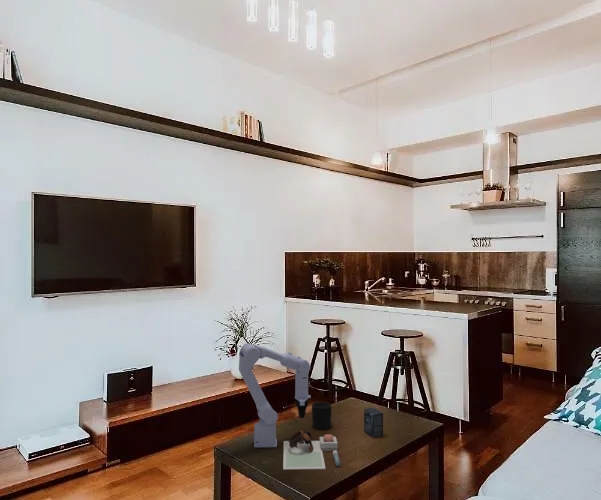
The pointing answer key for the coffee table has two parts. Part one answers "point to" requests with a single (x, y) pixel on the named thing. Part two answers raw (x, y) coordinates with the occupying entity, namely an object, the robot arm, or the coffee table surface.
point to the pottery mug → (301, 439)
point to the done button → (328, 438)
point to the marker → (336, 458)
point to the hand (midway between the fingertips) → (301, 416)
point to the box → (373, 422)
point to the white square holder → (328, 444)
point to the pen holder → (321, 415)
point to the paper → (303, 456)
